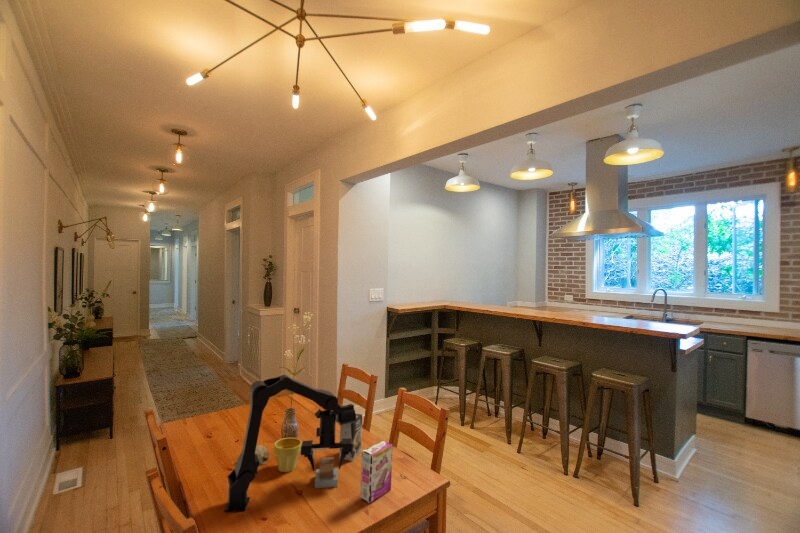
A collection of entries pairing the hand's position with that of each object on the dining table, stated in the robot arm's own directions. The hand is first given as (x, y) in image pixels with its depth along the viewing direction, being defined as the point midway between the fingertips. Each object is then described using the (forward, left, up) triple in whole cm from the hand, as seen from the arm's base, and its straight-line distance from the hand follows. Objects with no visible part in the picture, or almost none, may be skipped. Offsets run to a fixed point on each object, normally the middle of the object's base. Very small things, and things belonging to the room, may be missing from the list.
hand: (326, 469), depth 137 cm
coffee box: (+19, -10, -4) cm, 21 cm away
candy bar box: (-10, -18, -4) cm, 21 cm away
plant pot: (+12, +15, -4) cm, 20 cm away
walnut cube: (0, 0, -2) cm, 2 cm away
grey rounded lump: (+19, +29, -5) cm, 35 cm away
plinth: (0, 0, -4) cm, 4 cm away
